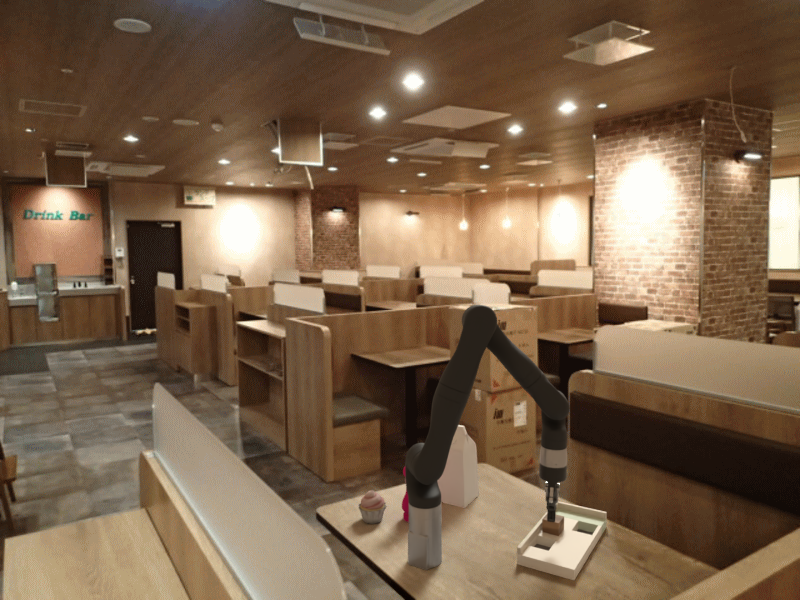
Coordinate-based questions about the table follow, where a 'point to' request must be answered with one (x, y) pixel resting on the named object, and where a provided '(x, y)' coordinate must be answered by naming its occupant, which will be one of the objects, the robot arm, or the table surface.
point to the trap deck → (563, 542)
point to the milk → (460, 471)
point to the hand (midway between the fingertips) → (551, 520)
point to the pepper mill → (405, 503)
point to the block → (553, 525)
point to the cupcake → (372, 507)
